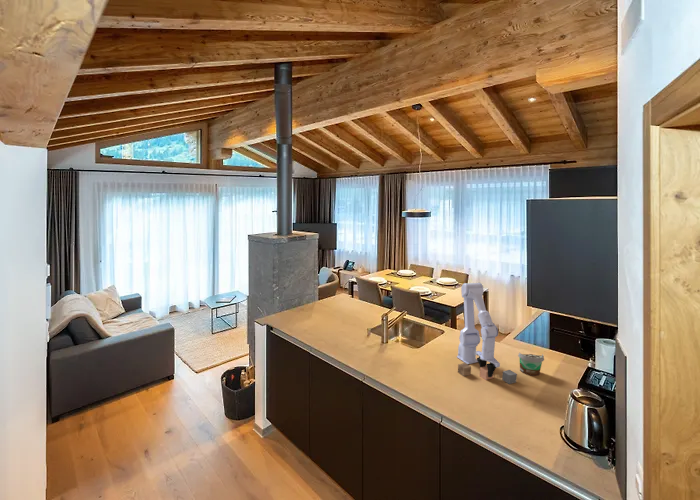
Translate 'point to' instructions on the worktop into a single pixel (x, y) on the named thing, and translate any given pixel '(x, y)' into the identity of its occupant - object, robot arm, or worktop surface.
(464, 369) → the walnut block
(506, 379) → the charcoal block
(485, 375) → the terracotta block
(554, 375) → the worktop surface
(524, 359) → the food container
